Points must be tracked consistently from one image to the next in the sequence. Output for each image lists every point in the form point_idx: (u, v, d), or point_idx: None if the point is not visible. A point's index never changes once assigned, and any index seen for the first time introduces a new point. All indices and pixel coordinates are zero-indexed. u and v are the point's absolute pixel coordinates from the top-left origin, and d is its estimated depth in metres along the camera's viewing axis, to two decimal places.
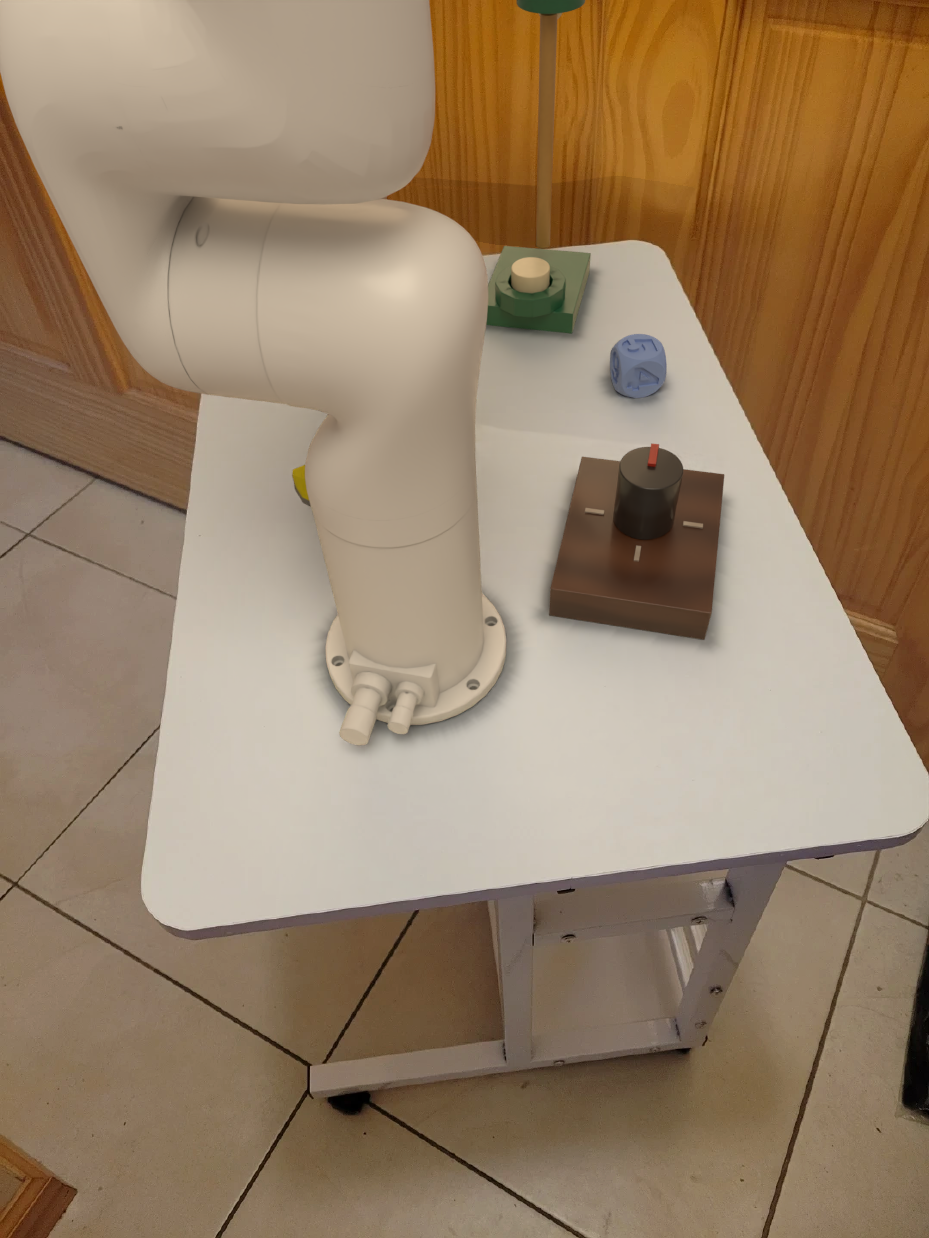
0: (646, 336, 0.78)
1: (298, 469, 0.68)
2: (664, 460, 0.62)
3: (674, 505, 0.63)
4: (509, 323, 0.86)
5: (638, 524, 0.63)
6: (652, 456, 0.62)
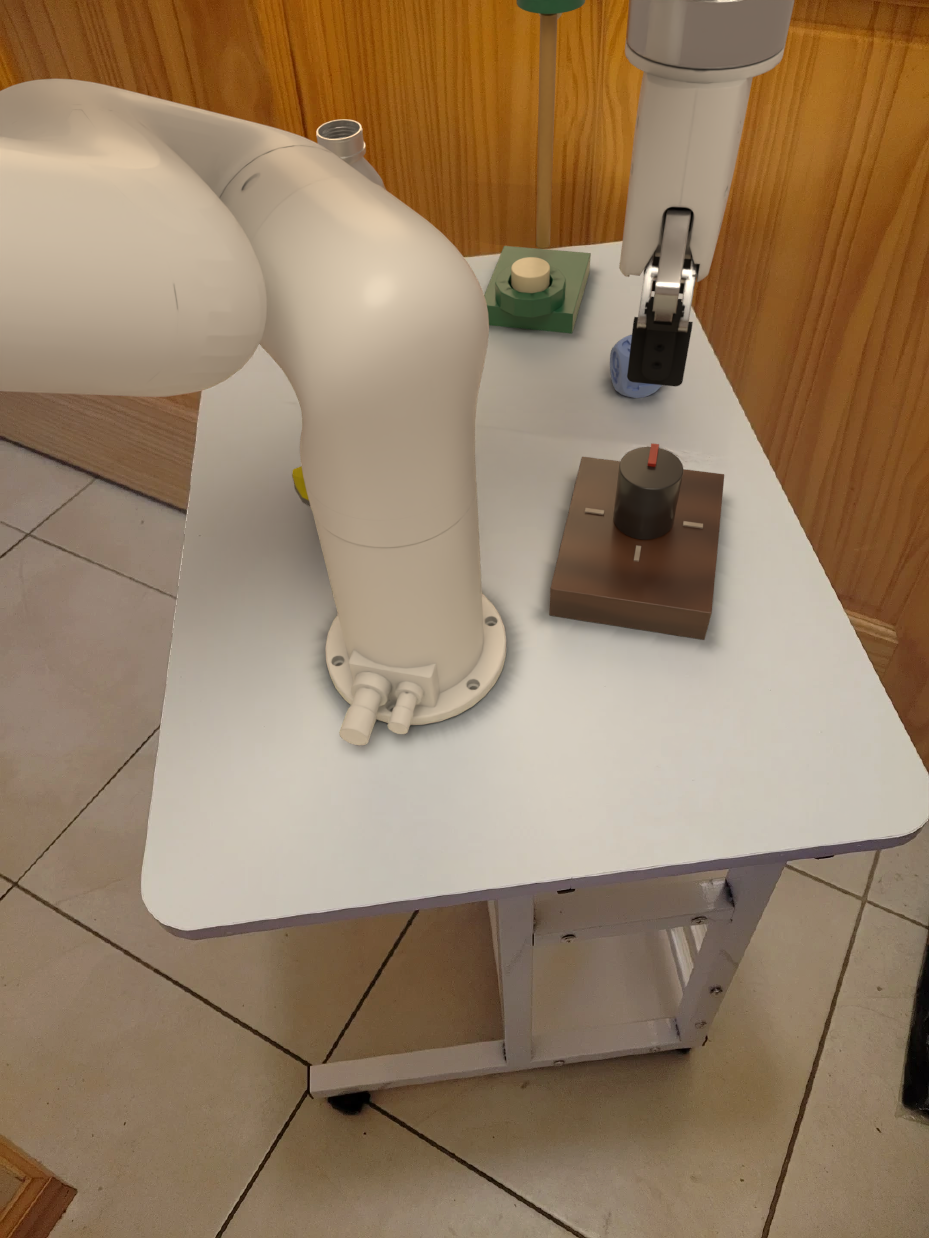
0: None
1: (298, 469, 0.68)
2: (664, 460, 0.62)
3: (674, 505, 0.63)
4: (509, 323, 0.86)
5: (638, 524, 0.63)
6: (652, 456, 0.62)
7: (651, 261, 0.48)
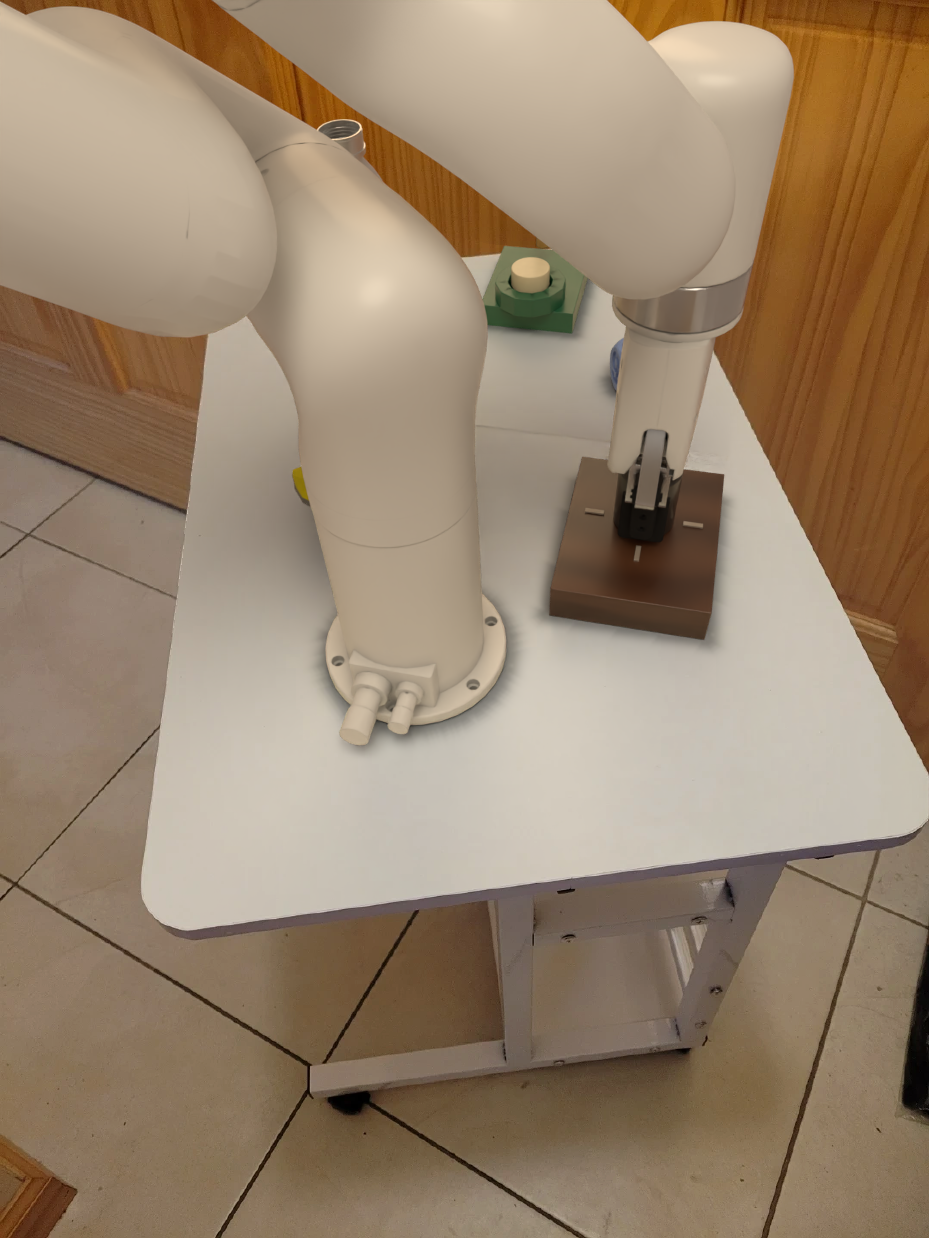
0: None
1: (298, 469, 0.68)
2: None
3: (674, 505, 0.63)
4: (509, 323, 0.86)
5: None
6: None
7: (634, 461, 0.58)
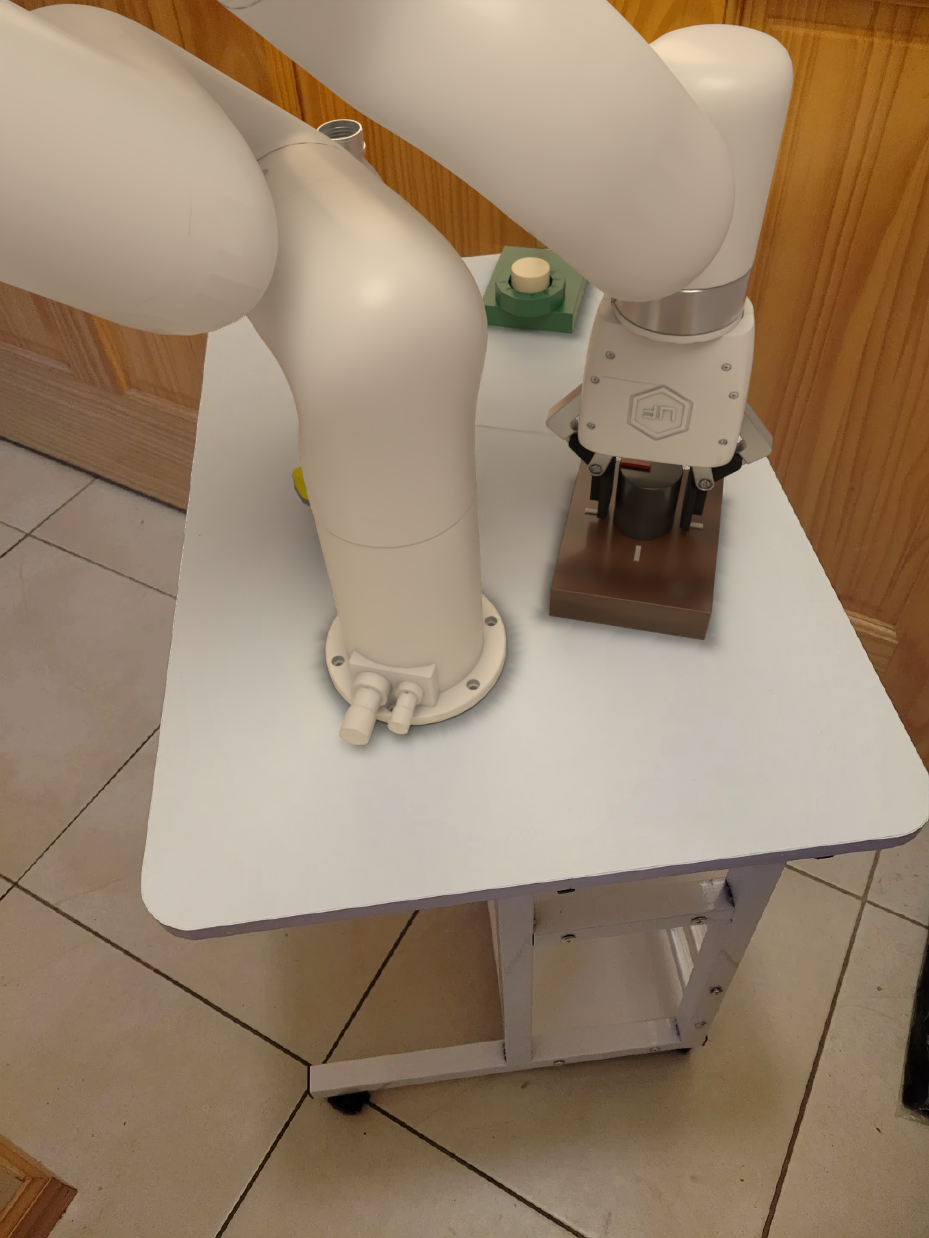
0: None
1: (298, 469, 0.68)
2: None
3: None
4: (509, 323, 0.86)
5: (675, 511, 0.64)
6: (640, 462, 0.62)
7: None
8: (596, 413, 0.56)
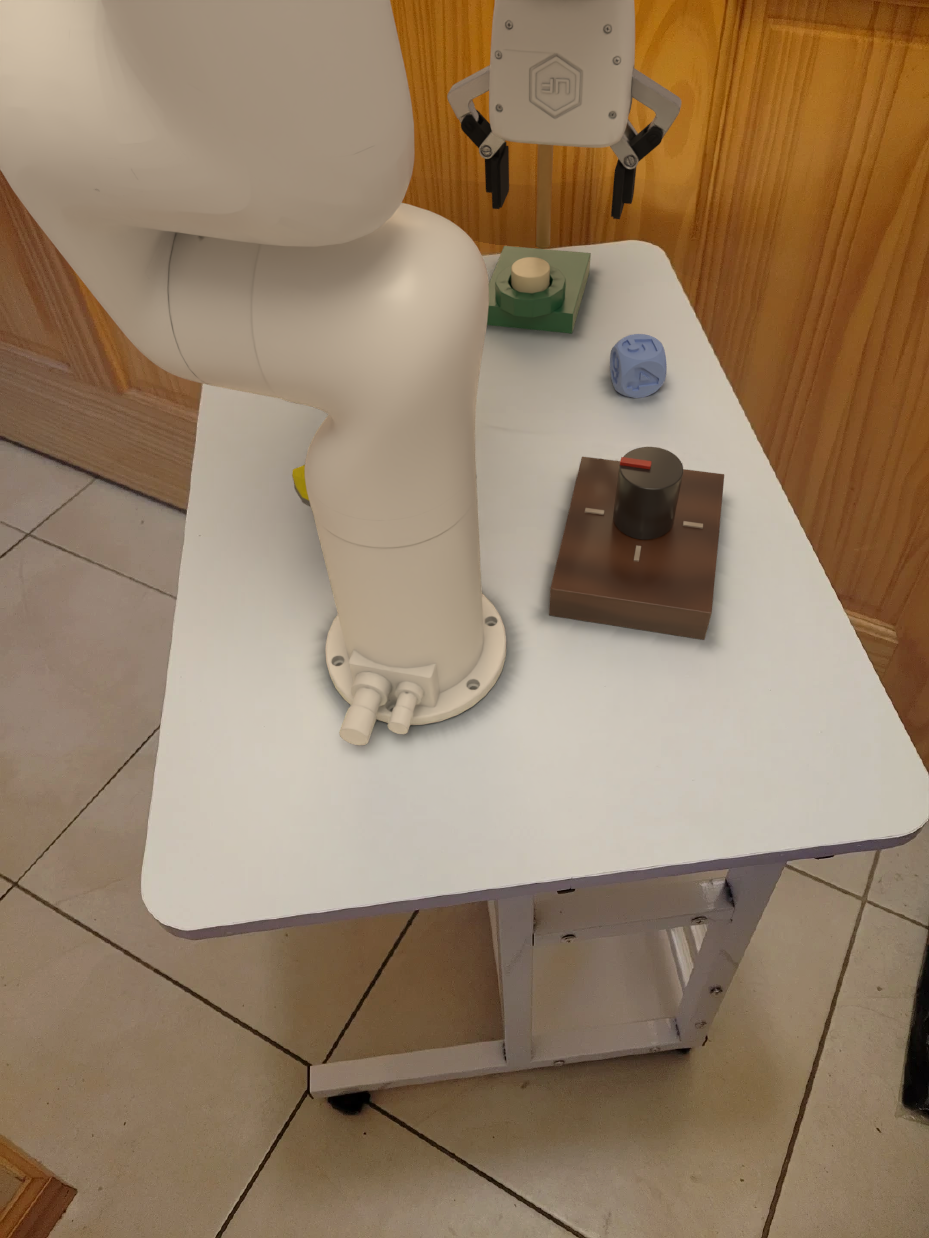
0: (646, 336, 0.78)
1: (298, 469, 0.68)
2: (640, 457, 0.63)
3: None
4: (509, 323, 0.86)
5: (675, 511, 0.64)
6: (640, 462, 0.62)
7: None
8: (502, 93, 0.64)
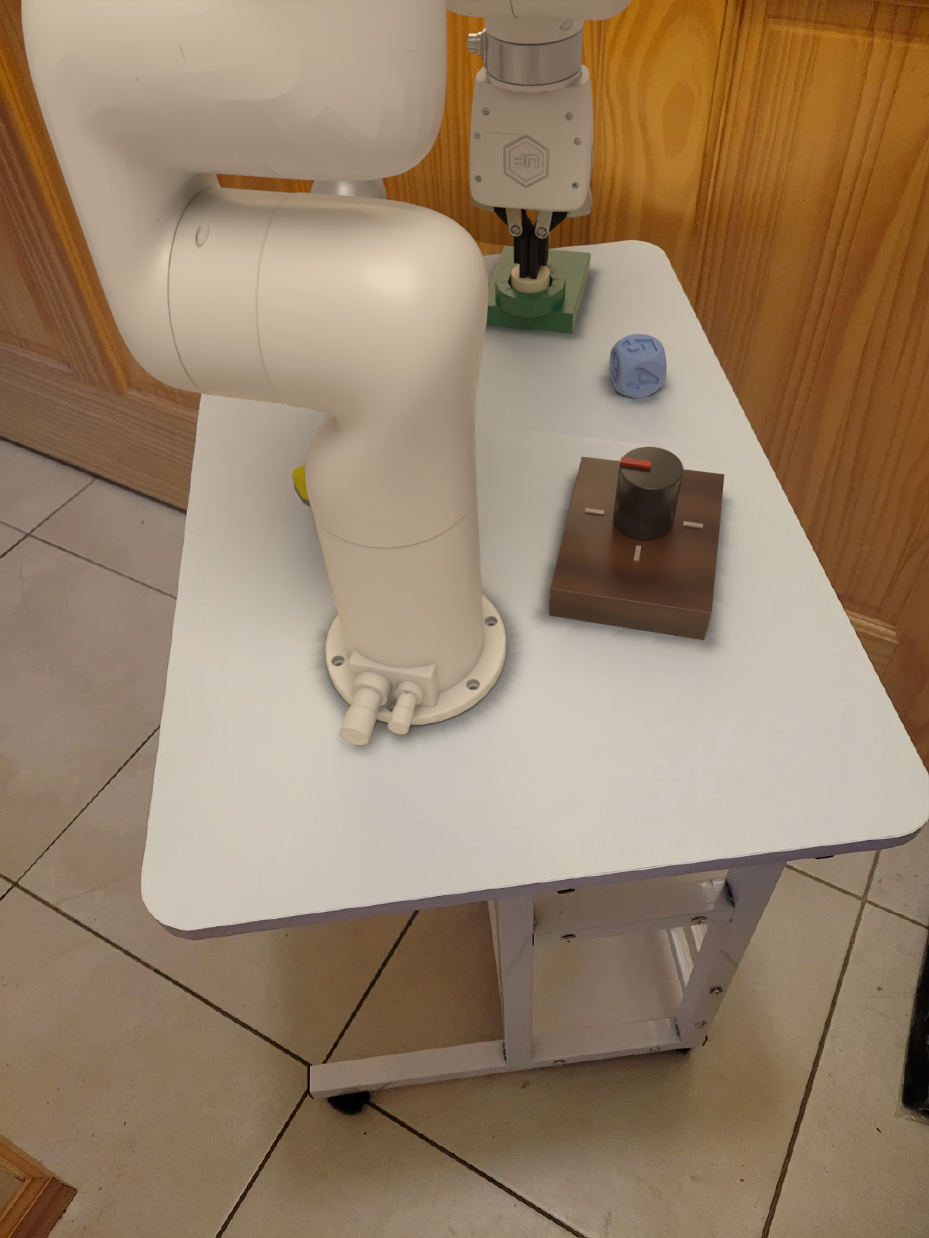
0: (646, 336, 0.78)
1: (298, 469, 0.68)
2: (640, 457, 0.63)
3: None
4: (509, 323, 0.86)
5: (675, 511, 0.64)
6: (640, 462, 0.62)
7: None
8: (481, 166, 0.75)
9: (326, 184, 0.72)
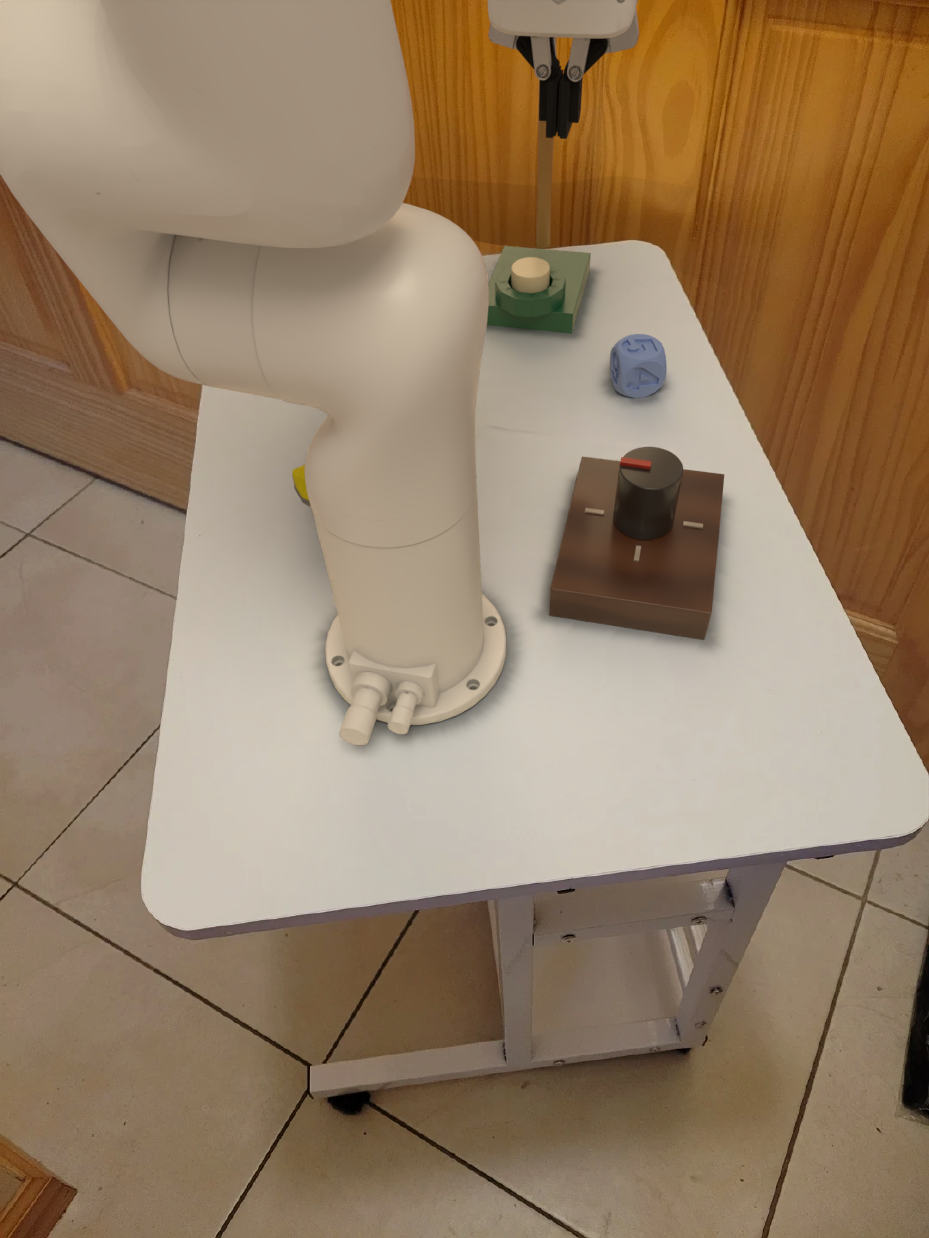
0: (646, 336, 0.78)
1: (298, 469, 0.68)
2: (640, 457, 0.63)
3: None
4: (509, 323, 0.86)
5: (675, 511, 0.64)
6: (640, 462, 0.62)
7: None
8: None
9: None
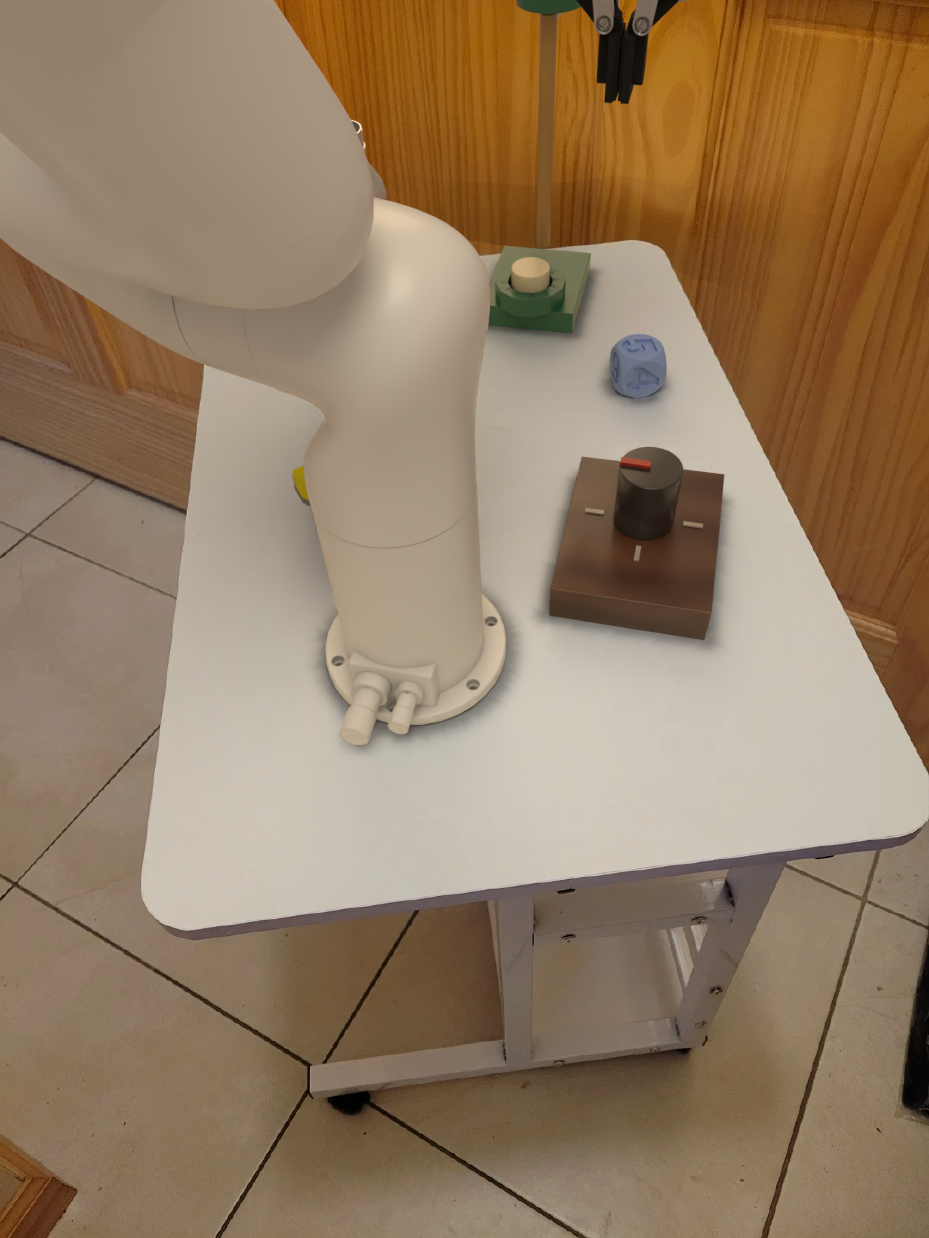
0: (646, 336, 0.78)
1: (298, 469, 0.68)
2: (640, 457, 0.63)
3: None
4: (509, 323, 0.86)
5: (675, 511, 0.64)
6: (640, 462, 0.62)
7: None
8: None
9: None
